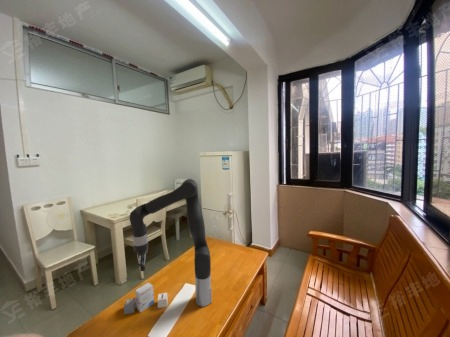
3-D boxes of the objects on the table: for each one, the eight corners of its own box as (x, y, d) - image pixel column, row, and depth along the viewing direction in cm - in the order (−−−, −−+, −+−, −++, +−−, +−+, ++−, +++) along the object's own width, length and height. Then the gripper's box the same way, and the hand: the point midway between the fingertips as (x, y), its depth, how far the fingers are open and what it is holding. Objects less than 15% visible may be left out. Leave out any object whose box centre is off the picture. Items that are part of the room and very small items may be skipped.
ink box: (150, 299, 116) (148, 281, 115) (154, 303, 113) (153, 285, 112) (136, 308, 110) (134, 289, 108) (140, 313, 106) (139, 294, 105)
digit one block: (167, 299, 115) (167, 292, 115) (166, 306, 110) (166, 298, 110) (159, 301, 114) (158, 293, 114) (158, 308, 109) (157, 300, 109)
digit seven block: (136, 305, 111) (135, 297, 111) (133, 312, 107) (133, 304, 106) (127, 307, 110) (126, 299, 110) (124, 314, 106) (123, 306, 105)
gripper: (145, 247, 101) (147, 276, 103) (149, 235, 114) (151, 262, 116) (130, 249, 99) (132, 279, 101) (136, 237, 112) (138, 264, 114)
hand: (142, 270), depth 109 cm, fingers closed
